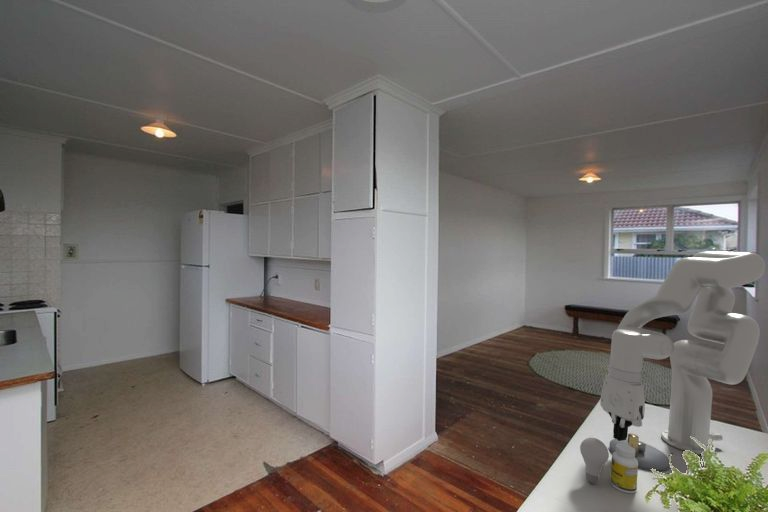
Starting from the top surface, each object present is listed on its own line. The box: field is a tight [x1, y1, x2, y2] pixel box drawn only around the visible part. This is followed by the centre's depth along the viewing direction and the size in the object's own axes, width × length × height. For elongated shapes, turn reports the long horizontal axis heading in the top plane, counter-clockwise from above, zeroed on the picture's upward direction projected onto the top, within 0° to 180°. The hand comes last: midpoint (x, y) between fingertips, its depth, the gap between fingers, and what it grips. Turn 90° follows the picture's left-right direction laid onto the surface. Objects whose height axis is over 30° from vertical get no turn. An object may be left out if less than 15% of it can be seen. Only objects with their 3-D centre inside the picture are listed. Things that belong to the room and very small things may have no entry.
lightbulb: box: [579, 437, 610, 485], centre depth 89 cm, size 6×6×11 cm
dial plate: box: [608, 438, 670, 472], centre depth 103 cm, size 14×14×2 cm
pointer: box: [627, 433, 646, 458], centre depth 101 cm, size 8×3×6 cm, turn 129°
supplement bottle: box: [609, 443, 639, 494], centre depth 89 cm, size 5×5×10 cm
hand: (619, 438), depth 102 cm, fingers closed
